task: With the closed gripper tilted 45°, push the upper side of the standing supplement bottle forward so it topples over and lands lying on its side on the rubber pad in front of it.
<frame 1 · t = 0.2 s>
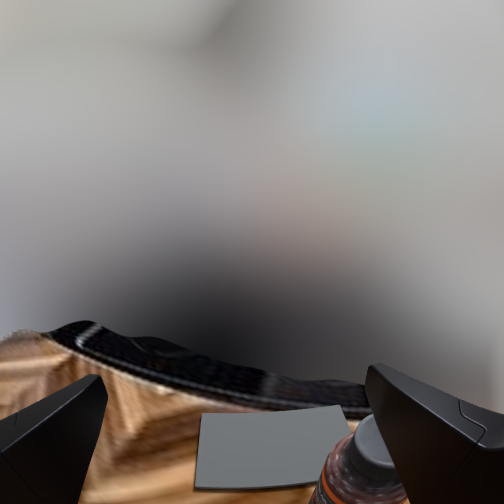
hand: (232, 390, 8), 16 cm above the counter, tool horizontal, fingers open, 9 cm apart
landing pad: (277, 447, 22), on the counter
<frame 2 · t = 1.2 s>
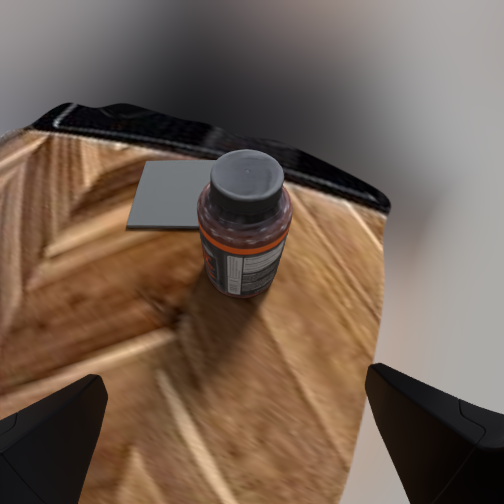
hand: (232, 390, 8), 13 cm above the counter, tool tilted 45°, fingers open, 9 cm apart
supplement bottle: (240, 269, 25), on the counter
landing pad: (202, 192, 29), on the counter
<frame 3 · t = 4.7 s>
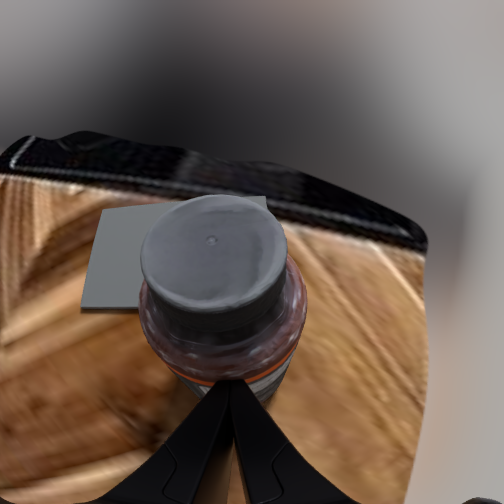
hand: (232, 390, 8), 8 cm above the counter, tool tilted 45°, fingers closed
supplement bottle: (234, 366, 17), on the counter, touching gripper
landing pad: (175, 250, 21), on the counter
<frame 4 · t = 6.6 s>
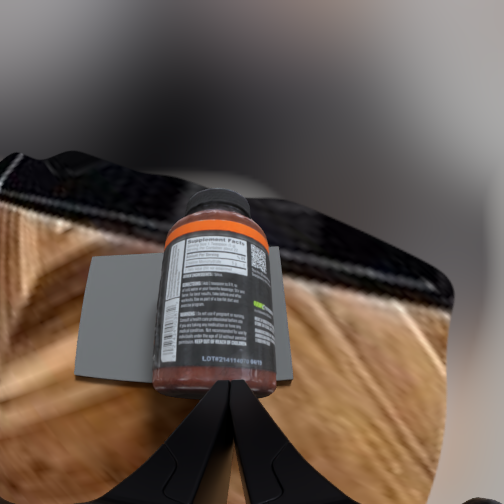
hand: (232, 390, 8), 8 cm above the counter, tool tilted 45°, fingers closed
supplement bottle: (213, 402, 12), point 3 cm above the counter, touching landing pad
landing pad: (175, 314, 18), on the counter
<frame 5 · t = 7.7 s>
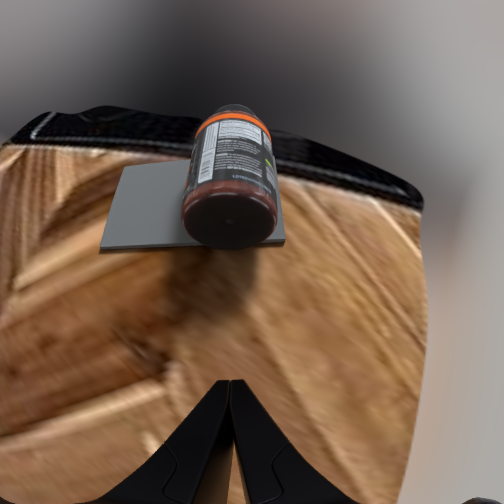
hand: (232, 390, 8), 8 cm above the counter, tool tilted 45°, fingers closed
supplement bottle: (228, 230, 17), point 3 cm above the counter, touching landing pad
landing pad: (191, 198, 23), on the counter
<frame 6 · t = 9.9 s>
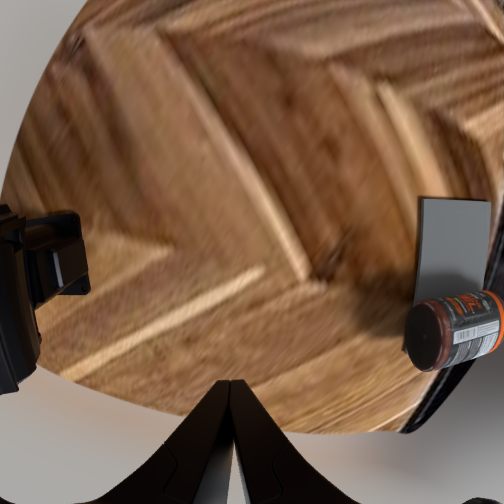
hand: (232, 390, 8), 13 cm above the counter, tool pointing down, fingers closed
supplement bottle: (417, 337, 19), point 3 cm above the counter, touching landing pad
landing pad: (452, 276, 22), on the counter
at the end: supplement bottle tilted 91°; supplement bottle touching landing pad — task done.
